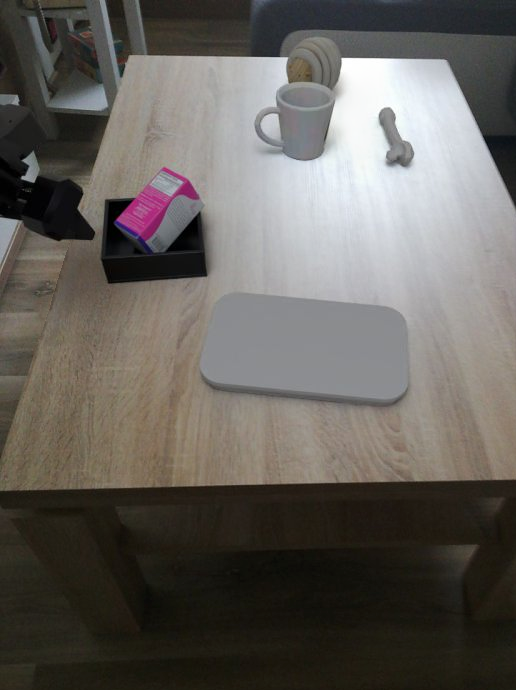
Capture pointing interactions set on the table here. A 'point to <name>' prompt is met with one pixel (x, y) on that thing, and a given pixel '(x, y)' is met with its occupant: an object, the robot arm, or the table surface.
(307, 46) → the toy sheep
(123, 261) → the black open box
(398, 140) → the bone
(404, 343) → the tablet
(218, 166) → the table surface
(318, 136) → the mug
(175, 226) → the supplement box
